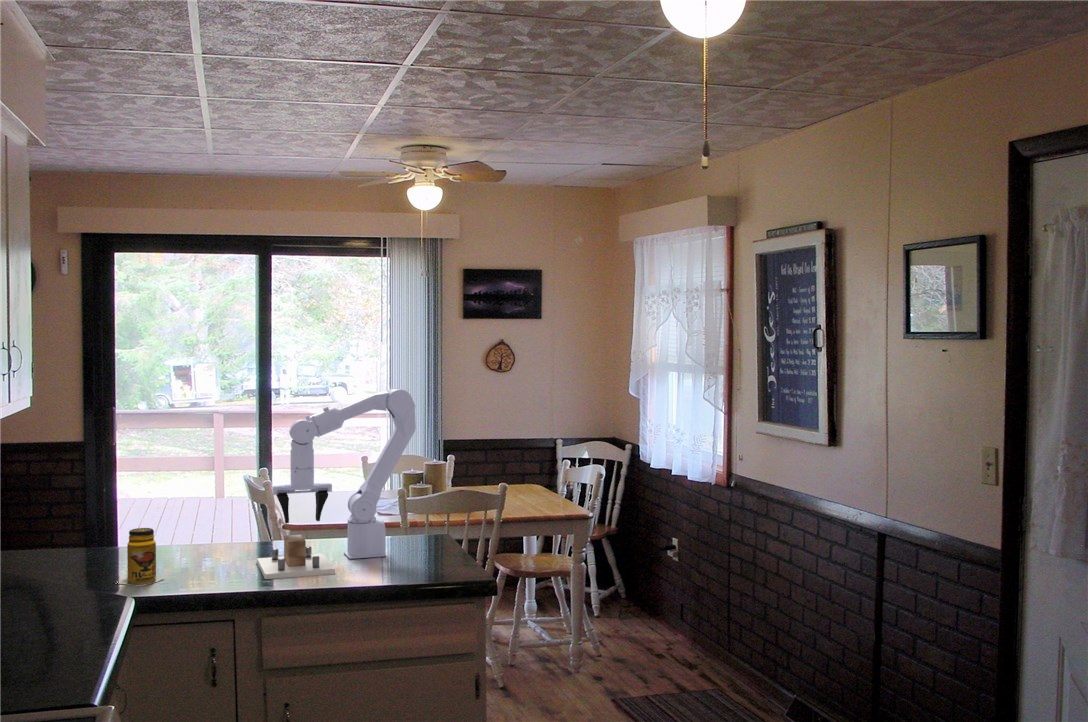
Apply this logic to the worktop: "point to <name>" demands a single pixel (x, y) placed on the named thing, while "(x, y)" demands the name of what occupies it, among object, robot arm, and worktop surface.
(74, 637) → the worktop surface
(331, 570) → the plate
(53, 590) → the worktop surface
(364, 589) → the worktop surface
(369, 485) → the robot arm
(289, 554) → the walnut block
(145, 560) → the condiment
